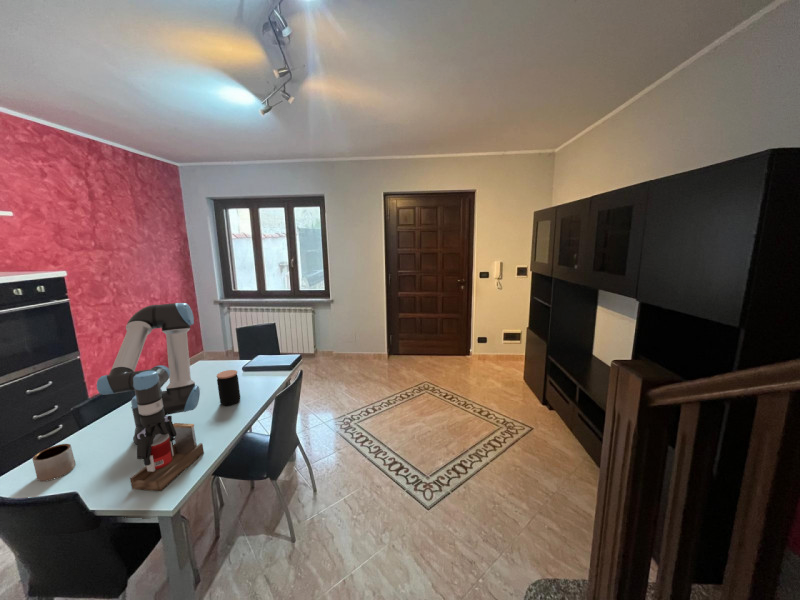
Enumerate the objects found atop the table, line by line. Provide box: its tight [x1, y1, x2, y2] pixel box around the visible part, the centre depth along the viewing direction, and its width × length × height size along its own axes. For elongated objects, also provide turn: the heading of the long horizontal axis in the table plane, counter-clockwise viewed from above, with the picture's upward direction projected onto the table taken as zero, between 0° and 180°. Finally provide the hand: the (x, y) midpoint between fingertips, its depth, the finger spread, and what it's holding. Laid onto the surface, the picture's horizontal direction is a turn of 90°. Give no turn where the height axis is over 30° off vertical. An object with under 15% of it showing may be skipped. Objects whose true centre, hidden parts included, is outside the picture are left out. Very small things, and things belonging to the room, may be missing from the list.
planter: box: [32, 443, 77, 482], centre depth 129 cm, size 11×11×10 cm
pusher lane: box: [129, 442, 205, 493], centre depth 129 cm, size 12×22×5 cm, turn 173°
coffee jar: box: [216, 369, 241, 407], centre depth 183 cm, size 11×11×18 cm
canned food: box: [150, 434, 173, 470], centre depth 124 cm, size 8×8×11 cm
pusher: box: [173, 422, 198, 454], centre depth 137 cm, size 9×2×14 cm, turn 83°
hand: (161, 462), depth 125 cm, fingers closed on canned food, 8 cm apart
